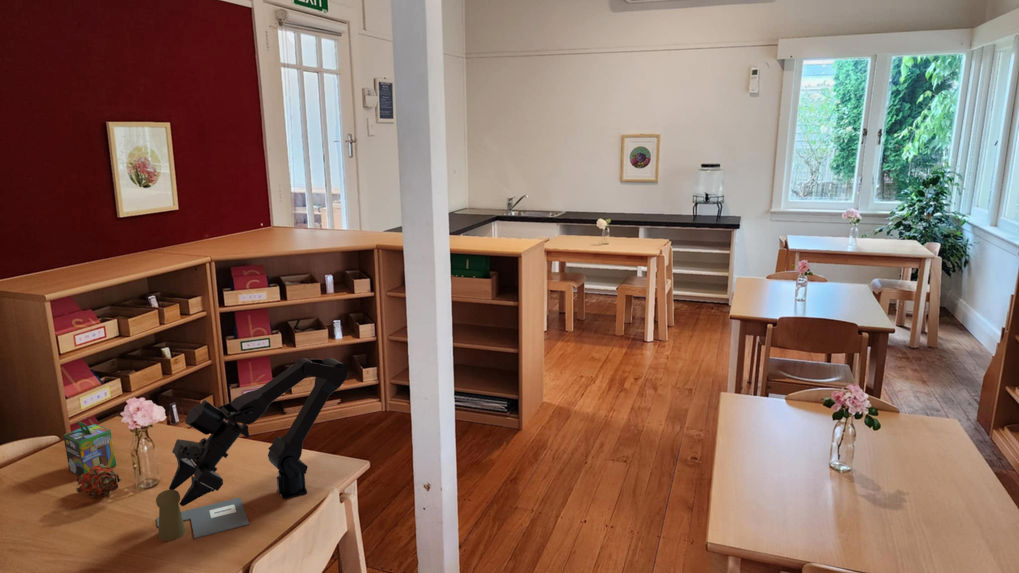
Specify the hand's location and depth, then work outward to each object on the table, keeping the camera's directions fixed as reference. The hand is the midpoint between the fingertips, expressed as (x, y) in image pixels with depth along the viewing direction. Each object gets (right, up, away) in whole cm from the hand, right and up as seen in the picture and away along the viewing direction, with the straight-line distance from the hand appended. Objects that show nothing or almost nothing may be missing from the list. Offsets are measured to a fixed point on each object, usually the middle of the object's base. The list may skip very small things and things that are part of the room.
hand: (175, 497), depth 163 cm
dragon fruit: (-30, -5, +19) cm, 36 cm away
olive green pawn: (-1, -9, +1) cm, 9 cm away
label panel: (+4, -8, +6) cm, 11 cm away
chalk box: (-40, -2, +32) cm, 52 cm away
